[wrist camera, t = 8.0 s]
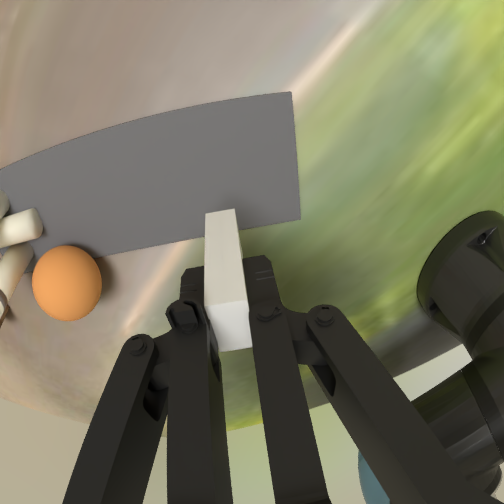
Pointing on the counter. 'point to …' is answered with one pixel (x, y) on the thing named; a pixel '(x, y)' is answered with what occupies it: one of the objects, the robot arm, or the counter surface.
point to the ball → (67, 283)
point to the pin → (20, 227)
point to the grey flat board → (161, 177)
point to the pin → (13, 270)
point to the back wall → (4, 314)
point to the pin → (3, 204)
